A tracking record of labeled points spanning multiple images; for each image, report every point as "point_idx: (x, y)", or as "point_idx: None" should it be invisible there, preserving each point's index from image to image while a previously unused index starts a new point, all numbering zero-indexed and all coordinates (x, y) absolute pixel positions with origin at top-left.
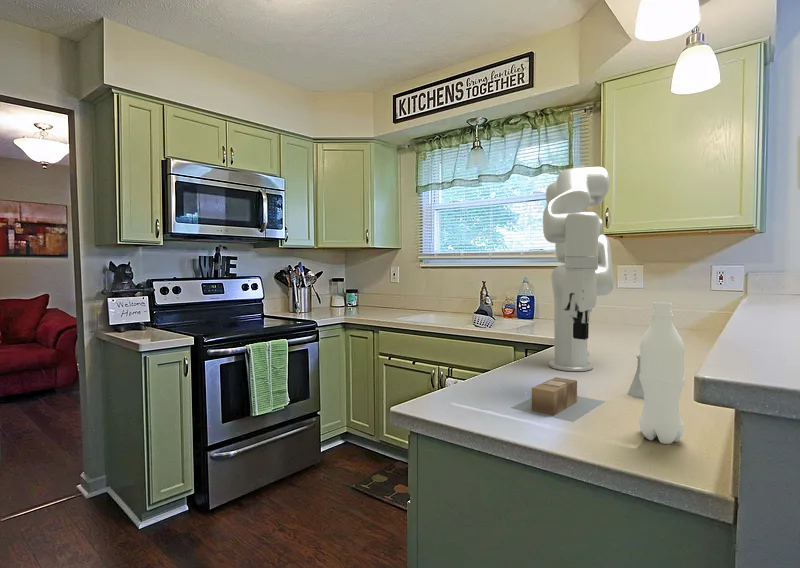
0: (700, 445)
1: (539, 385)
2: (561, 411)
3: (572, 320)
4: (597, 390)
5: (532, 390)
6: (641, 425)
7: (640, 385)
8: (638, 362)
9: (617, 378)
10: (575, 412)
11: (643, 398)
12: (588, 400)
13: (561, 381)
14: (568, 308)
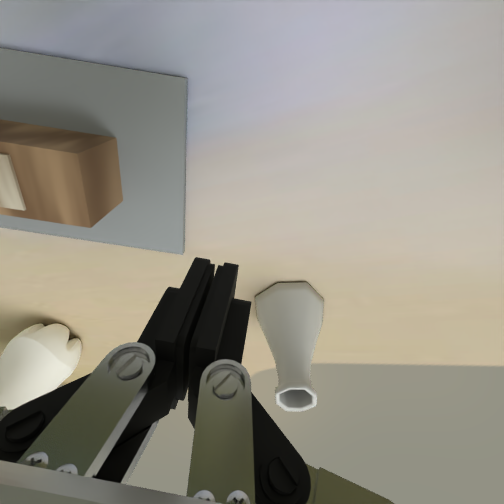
0: (77, 369)
1: None
2: None
3: (103, 360)
4: (304, 215)
5: None
6: (16, 335)
7: (265, 328)
8: (285, 372)
9: (485, 241)
10: None
11: (257, 313)
12: (161, 221)
13: (39, 188)
14: (4, 489)
